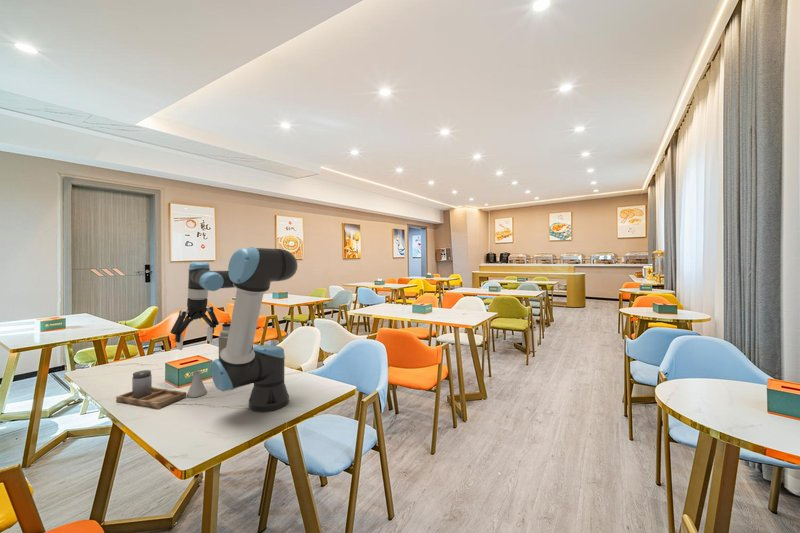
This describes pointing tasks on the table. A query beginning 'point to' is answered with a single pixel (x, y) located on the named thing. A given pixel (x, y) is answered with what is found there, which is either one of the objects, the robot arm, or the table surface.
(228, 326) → the thermos bottle
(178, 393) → the caddy
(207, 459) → the table surface
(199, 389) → the flask
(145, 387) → the pepper shaker
